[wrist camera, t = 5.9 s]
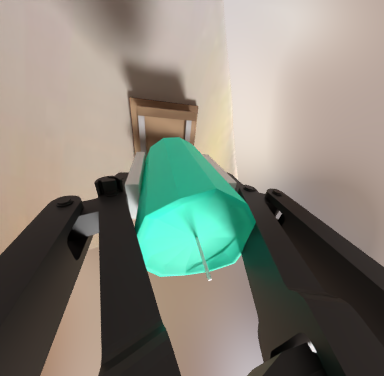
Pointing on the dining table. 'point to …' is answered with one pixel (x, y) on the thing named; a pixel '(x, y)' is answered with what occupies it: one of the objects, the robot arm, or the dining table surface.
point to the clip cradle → (161, 122)
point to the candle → (188, 213)
